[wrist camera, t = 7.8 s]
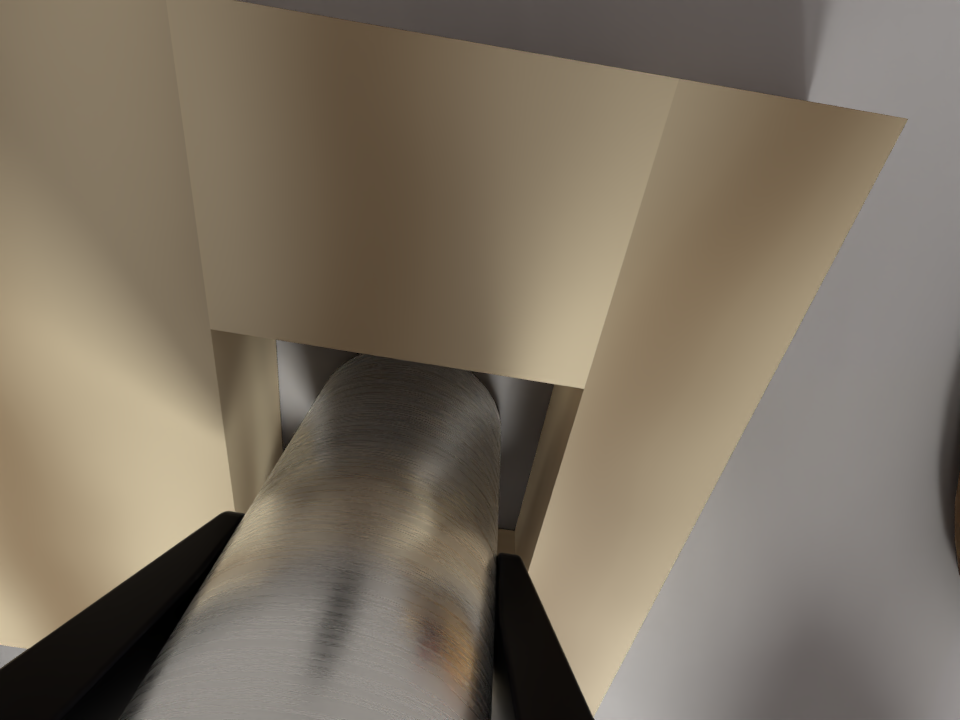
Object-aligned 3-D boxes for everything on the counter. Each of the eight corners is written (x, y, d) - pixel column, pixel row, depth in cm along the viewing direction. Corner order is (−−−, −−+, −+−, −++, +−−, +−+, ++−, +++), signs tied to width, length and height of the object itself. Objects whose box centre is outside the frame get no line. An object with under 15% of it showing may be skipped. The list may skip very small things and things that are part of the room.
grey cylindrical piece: (519, 363, 11) (543, 1409, 2) (487, 509, 13) (438, 1315, 5) (314, 330, 11) (-454, 1295, 2) (316, 483, 13) (-61, 1256, 5)
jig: (808, 108, 9) (908, 118, 6) (577, 642, 16) (587, 728, 14) (-266, -81, 8) (-550, -139, 6) (29, 562, 16) (-47, 638, 14)
